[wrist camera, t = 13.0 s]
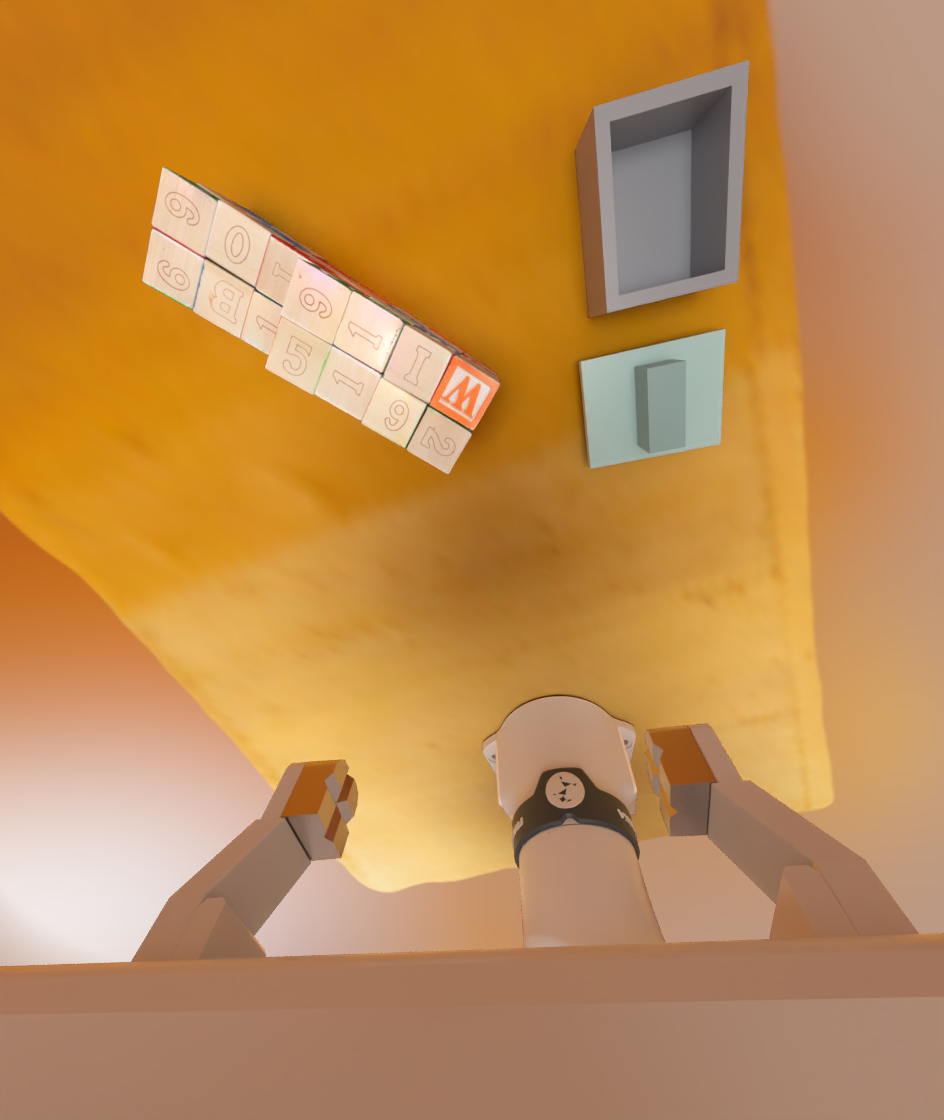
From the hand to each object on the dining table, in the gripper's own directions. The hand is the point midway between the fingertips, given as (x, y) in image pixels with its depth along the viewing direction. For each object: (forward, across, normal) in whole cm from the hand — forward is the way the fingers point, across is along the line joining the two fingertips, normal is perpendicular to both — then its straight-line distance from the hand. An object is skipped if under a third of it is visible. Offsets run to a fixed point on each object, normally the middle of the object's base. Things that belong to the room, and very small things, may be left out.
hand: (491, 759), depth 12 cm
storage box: (+30, -13, -16) cm, 37 cm away
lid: (+30, -13, -4) cm, 33 cm away
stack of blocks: (+31, +8, -13) cm, 34 cm away
